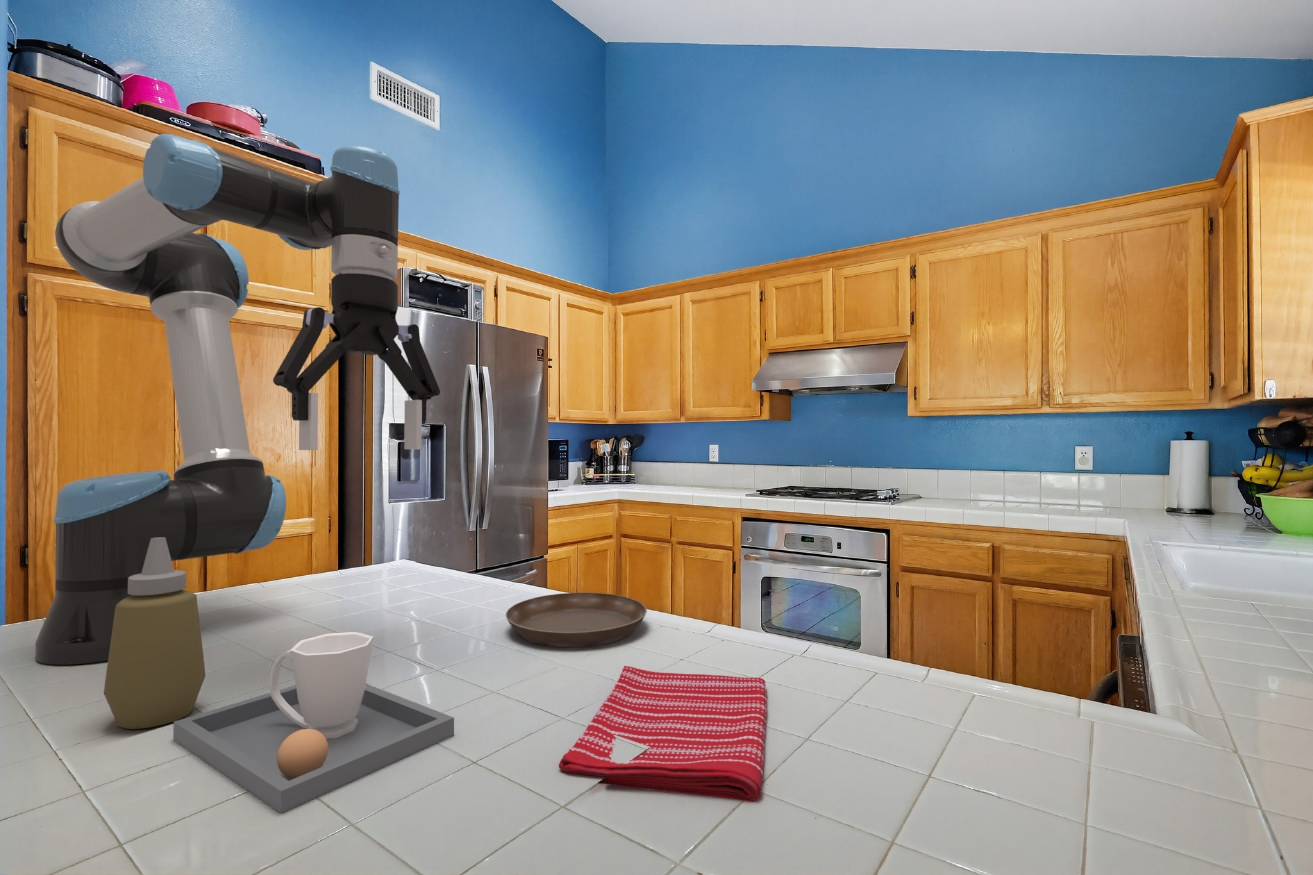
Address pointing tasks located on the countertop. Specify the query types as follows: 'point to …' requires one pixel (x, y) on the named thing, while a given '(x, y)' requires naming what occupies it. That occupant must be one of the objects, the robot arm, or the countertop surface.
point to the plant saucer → (576, 619)
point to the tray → (257, 728)
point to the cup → (326, 681)
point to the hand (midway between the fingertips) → (364, 450)
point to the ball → (302, 753)
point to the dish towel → (679, 734)
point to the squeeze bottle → (155, 646)
